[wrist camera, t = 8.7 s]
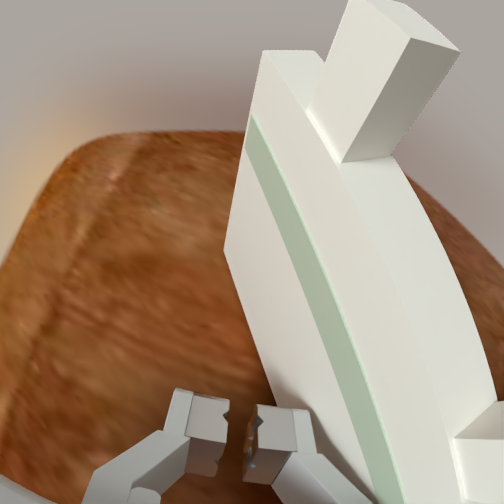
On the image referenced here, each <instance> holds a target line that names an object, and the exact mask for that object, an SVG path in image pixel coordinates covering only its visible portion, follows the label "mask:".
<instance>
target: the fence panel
mask: <svg viewBox="0 0 504 504" xmlns="http://www.w3.org/2000/svg"><path fill="white" fill-rule="evenodd" d="M460 53H461V51H460V50H459V49H457V48H456V47H455V46H454V45H453V44H452V43H451V42H450V41H449V40H448V39H447V38H446V37H444V35H442V34H441V33H440V32H439V31H438V30H437V29H436V28H434V27H433V26H432V25H431V24H430V23H428V22H427V21H426V20H425V19H424V18H422V17H421V16H420V15H419V14H418V13H416V12H415V11H414V10H413V9H411V8H410V7H409V6H407V5H406V4H403V3H400V2H396V1H392V0H349V1H348V4H347V7H346V9H345V12H344V14H343V17H342V20H341V22H340V25H339V27H338V30H337V33H336V35H335V38H334V41H333V43H332V46H331V48H330V51H329V54H328V56H327V59H326V62H325V63H324V61H323V60H322V59H321V58H320V57H319V55H317V53H316V52H315V51H307V50H263V52H262V57H261V61H260V66H259V71H258V76H257V80H256V85H255V90H254V94H253V99H252V104H251V109H250V114H249V119H248V123H247V128H246V133H245V138H244V143H243V149H242V154H241V159H240V164H239V169H238V174H237V180H236V185H235V190H234V196H233V201H232V206H231V212H230V217H229V223H228V228H227V234H226V240H225V245H224V253H225V256H226V259H227V262H228V265H229V268H230V271H231V274H232V277H233V280H234V283H235V286H236V289H237V292H238V295H239V298H240V301H241V304H242V307H243V310H244V313H245V316H246V319H247V322H248V325H249V327H250V330H251V333H252V336H253V339H254V342H255V345H256V348H257V350H258V353H259V356H260V359H261V362H262V365H263V367H264V370H265V373H266V376H267V379H268V381H269V384H270V387H271V390H272V393H273V395H274V398H275V401H276V404H277V406H278V407H283V408H290V409H291V408H292V409H301V410H308V411H309V413H310V418H311V423H312V428H313V434H314V439H315V444H316V450H317V453H318V454H323V455H324V456H325V457H326V458H327V459H328V460H329V461H330V462H331V463H332V464H333V465H334V466H335V467H336V468H337V469H338V470H339V471H340V472H341V473H342V474H343V475H344V476H345V477H346V478H347V479H348V480H349V481H350V482H351V483H352V484H353V485H354V486H355V487H356V488H357V489H358V490H359V491H360V492H361V493H362V494H364V495H365V496H366V497H367V498H368V499H369V500H370V501H371V502H372V503H373V504H504V401H499V402H498V400H497V396H496V392H495V388H494V384H493V380H492V376H491V373H490V369H489V366H488V362H487V359H486V356H485V352H484V349H483V346H482V343H481V340H480V337H479V334H478V331H477V328H476V325H475V323H474V320H473V317H472V314H471V312H470V309H469V306H468V304H467V301H466V299H465V296H464V294H463V291H462V289H461V286H460V284H459V282H458V279H457V277H456V275H455V272H454V270H453V268H452V265H451V263H450V261H449V259H448V257H447V254H446V252H445V250H444V248H443V246H442V244H441V242H440V240H439V238H438V236H437V234H436V232H435V230H434V228H433V226H432V224H431V222H430V220H429V218H428V216H427V214H426V212H425V210H424V209H423V207H422V205H421V203H420V201H419V199H418V198H417V196H416V194H415V192H414V191H413V189H412V187H411V185H410V184H409V182H408V180H407V179H406V177H405V175H404V174H403V172H402V170H401V169H400V167H399V166H398V164H397V162H396V160H395V159H394V157H393V156H392V154H391V153H392V152H393V151H394V149H395V148H396V146H397V145H398V144H399V142H400V141H401V139H402V138H403V137H404V135H405V134H406V132H407V131H408V130H409V128H410V127H411V125H412V124H413V122H414V121H415V120H416V118H417V117H418V115H419V114H420V113H421V111H422V109H423V108H424V107H425V105H426V104H427V102H428V101H429V100H430V98H431V97H432V95H433V94H434V92H435V91H436V89H437V88H438V86H439V85H440V83H441V82H442V80H443V79H444V77H445V76H446V75H447V73H448V72H449V70H450V69H451V67H452V65H453V64H454V62H455V61H456V59H457V57H458V56H459V55H460Z"/></svg>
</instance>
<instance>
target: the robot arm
mask: <svg viewBox="0 0 504 504" xmlns="http://www.w3.org/2000/svg"><path fill="white" fill-rule="evenodd" d="M193 393H194V395H193ZM228 412H229V400H228V399H223V398H219V397H214V396H210V395H205V394H201V393H197V392H191V391H187V390H183V389H179V388H175V390H174V393H173V396H172V400H171V404H170V407H169V411H168V415H167V418H166V422H165V426H164V429H163V431H161V430H157V431H155V432H154V433H152V434H151V435H149V436H148V437H146V438H145V439H143V440H142V441H140V442H139V443H137V444H136V445H134V446H133V447H131V448H130V449H128V450H127V451H125V452H123V453H122V454H120V455H119V456H117V457H116V458H114V459H112V460H111V461H109V462H108V463H106V464H104V465H103V466H101V467H100V468H98V469H96V470H95V471H94V472H93V475H92V478H91V480H90V483H89V485H88V488H87V491H86V493H85V496H84V498H83V501H82V504H161V495H162V494H163V493H164V492H165V491H166V490H167V489H168V488H169V487H170V486H172V485H173V484H174V483H175V482H176V481H177V480H178V479H179V478H180V477H181V476H182V475H183V474H184V472H185V473H191V474H197V475H203V476H209V477H215V474H216V471H217V469H218V466H219V458H221V457H222V454H223V451H224V448H225V445H226V439H227V428H228V422H227V421H226V418H227V415H228ZM243 452H244V453H245V454H246V456H245V458H244V461H243V464H242V481H245V482H252V483H260V484H270V485H271V486H272V488H273V489H274V491H275V492H276V494H277V495H278V497H279V498H280V500H281V501H282V502H283V504H373V503H372V502H371V501H370V500H369V499H368V498H367V497H366V496H365V495H364V494H362V493H361V492H360V491H359V490H358V489H357V488H356V487H355V486H354V485H353V484H352V483H351V482H350V481H349V480H348V479H347V478H346V477H345V476H344V475H343V474H342V473H341V472H340V471H339V470H338V469H337V468H336V467H335V466H334V465H333V464H332V463H331V462H330V461H329V460H328V459H327V458H326V457H325V456H324V455H323V454H318V453H317V450H316V444H315V439H314V434H313V428H312V423H311V418H310V413H309V411H308V410H301V409H292V408H291V409H290V408H283V407H275V406H267V405H260V404H256V405H255V406H254V408H253V411H252V420H251V421H249V422H248V424H247V427H246V430H245V435H244V441H243ZM0 504H57V503H54V502H52V501H50V500H48V499H46V498H44V497H42V496H40V495H38V494H36V493H34V492H32V491H30V490H28V489H26V488H24V487H22V486H20V485H18V484H17V483H15V482H13V481H11V480H10V479H8V478H6V477H4V476H3V475H1V474H0Z"/></svg>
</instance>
